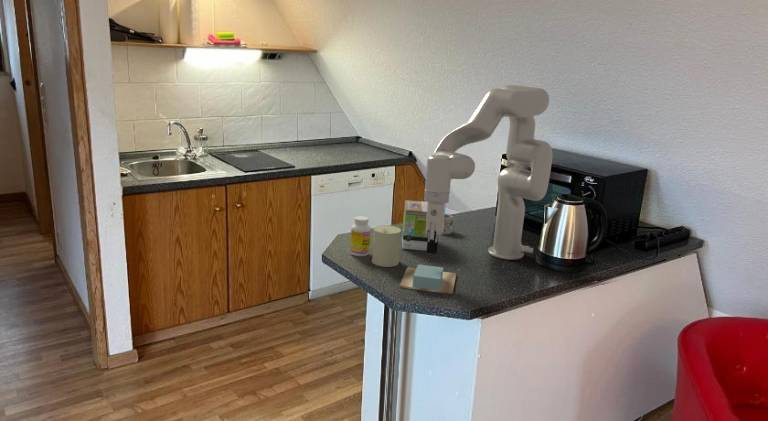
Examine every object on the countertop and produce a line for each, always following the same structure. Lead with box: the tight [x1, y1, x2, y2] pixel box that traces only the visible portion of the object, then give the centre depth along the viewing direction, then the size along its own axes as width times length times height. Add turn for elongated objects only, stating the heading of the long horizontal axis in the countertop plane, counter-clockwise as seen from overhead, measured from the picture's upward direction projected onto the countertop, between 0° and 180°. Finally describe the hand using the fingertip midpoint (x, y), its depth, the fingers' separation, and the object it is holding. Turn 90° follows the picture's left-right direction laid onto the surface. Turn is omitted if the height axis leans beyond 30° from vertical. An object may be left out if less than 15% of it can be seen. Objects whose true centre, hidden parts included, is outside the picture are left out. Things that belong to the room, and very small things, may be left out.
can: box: [371, 225, 402, 268], centre depth 199 cm, size 9×9×12 cm
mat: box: [399, 267, 457, 295], centre depth 186 cm, size 16×16×1 cm
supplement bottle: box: [349, 215, 372, 257], centre depth 205 cm, size 7×7×13 cm
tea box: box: [401, 200, 428, 251], centre depth 219 cm, size 15×10×15 cm
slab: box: [413, 264, 444, 290], centre depth 183 cm, size 8×4×10 cm
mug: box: [442, 213, 454, 236], centre depth 238 cm, size 10×7×7 cm, turn 12°
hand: (431, 253), depth 186 cm, fingers closed
